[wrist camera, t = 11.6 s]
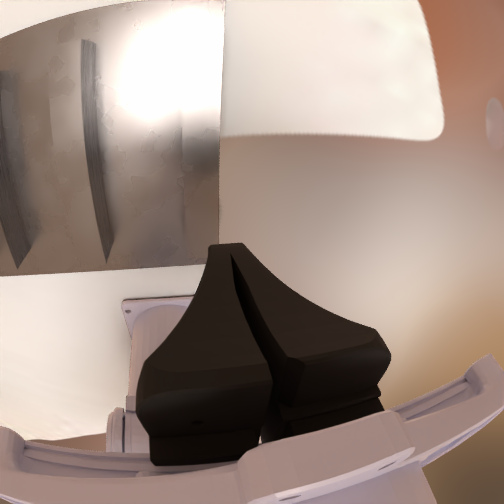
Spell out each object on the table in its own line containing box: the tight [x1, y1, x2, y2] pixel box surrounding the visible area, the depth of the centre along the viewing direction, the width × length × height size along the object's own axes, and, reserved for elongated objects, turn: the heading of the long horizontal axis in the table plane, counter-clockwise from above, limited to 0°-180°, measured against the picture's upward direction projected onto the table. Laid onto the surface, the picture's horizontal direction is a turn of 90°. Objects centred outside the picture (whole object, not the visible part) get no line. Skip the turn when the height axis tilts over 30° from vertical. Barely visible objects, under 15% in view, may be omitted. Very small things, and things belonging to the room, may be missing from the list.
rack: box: [0, 0, 225, 276], centre depth 15 cm, size 19×25×3 cm
